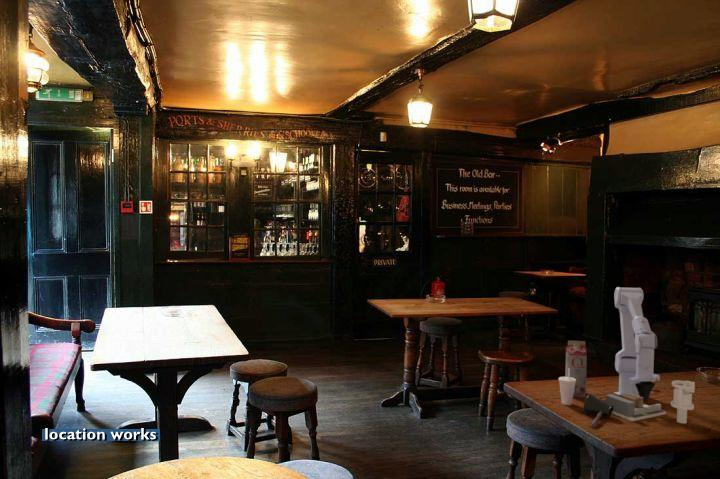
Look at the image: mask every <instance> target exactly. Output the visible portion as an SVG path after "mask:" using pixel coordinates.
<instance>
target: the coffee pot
mask: <svg viewBox="0 0 720 479" xmlns="http://www.w3.org/2000/svg"><path fill="white" fill-rule="evenodd" d="M612 412H613V406H609V405H607V404H606V403H605V401H603V400H601V399H600V398H599V397H597V396H596V395H594V394H593V393H589V394H587V395H586V397H585V400H584V403H583V413H584V414H587V415H593V416H596V417H595V418H594V419H593V420H592V421H589V422H588V423H587V425H588V427H591V428H592V429H596V428H597V427H598V425H599V422H600V418H601V417H605V418H607V419H608V420H609V419H610V418H611V417H612V415H613V414H612ZM590 423H591V424H590Z"/></svg>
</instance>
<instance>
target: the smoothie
mask: <svg viewBox="0 0 720 479" xmlns="http://www.w3.org/2000/svg"><path fill="white" fill-rule="evenodd" d="M558 382H559V391H560V399H561V400H560V402H561V404H562V405H565V406H571V405H572V404H573V400H574V399H573V398H574V397H573V393H574V387H575V383H576V379H574V378H571V377H570V368H568V377H565V376H559V377H558Z"/></svg>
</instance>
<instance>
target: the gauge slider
mask: <svg viewBox="0 0 720 479" xmlns="http://www.w3.org/2000/svg"><path fill="white" fill-rule="evenodd" d="M619 397H621V398H624V399H627V400H630V401H633V402H635V408H639V407H641V408H644V409H647V408H646V407H643V404H644V401H643V397H640V396H637V395H634V394H631V393H625V394H620V396H619Z"/></svg>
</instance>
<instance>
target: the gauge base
mask: <svg viewBox="0 0 720 479" xmlns="http://www.w3.org/2000/svg"><path fill="white" fill-rule="evenodd" d="M604 403H606V404H607V405H609V406H613V412H612V415H615V416H618V417H619V418H622V419H625V420H628V421H630V422H635V421H640V420H641V421H642V420H645V419H649V418H655V417H660V416H664V415H666V414H667V411H665V410H662V403H661V404H660V403H655V404H651V405H650V404H649V405H648V404H645V403H643V407H646V408H647V409H644V408H641V407H639V408H635V402H633V401H630V400H627V399H624V398H621V397H620V396H619V395H616V394H614V393H613V394H612V393H610V394H609V393H608V394H605V401H604Z"/></svg>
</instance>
